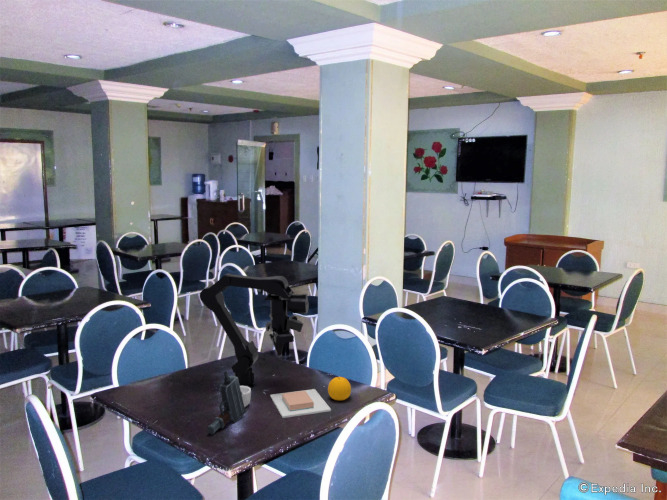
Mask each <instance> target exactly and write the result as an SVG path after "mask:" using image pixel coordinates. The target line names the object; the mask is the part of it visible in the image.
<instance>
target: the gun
mask: <svg viewBox="0 0 667 500" xmlns="http://www.w3.org/2000/svg"><path fill="white" fill-rule="evenodd" d="M223 376H224V378H223V382H222V383H221V384H220V386H219V394H220V398H221V402H220V403H219V407H218V408H219V412H220V414H218V416H217V417H215V418H214V421H213V422H212V423H211V424H209V425H208V426H207V430H208V431H207V432H208V433H209V435H213V436H214V435H215V434H216V432H217V431H218V430H219V429H224V428H225V426H226V424H228V423H229V422H231V423H235V424H236V423H238V421H239V420H240V419H241V418H242V417H243V416H244V415H245V414H246V413H247V412H248V410H247V409H246V407H244V403H243V399H242V392H241V390H240V385H239V381H238V377H235V376H234V375H230V376H229V371H228V370H225V371H223Z"/></svg>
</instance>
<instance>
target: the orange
mask: <svg viewBox="0 0 667 500" xmlns="http://www.w3.org/2000/svg"><path fill="white" fill-rule="evenodd" d="M327 393H328V395H329V397H330V398H331V399H333V400H334V401H345V400H348V398H349V397H350V396H351V393H352V385H351V383H350V382H349V380H348V379H347V378H346V377H344V376H336V377H333V378H332V379H331V380H330V381H329V384H328V386H327Z"/></svg>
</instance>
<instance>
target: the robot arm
mask: <svg viewBox="0 0 667 500" xmlns="http://www.w3.org/2000/svg"><path fill="white" fill-rule="evenodd" d="M229 287H238V288H245V289H252V290H253V289H255V290H260V291H263V292H265V293H268V295H267V296H266V297H264V300H265V301H270V313H269V318H270V321H268V322H267V323H266V324H265V331H266V332H269V330H270V331H271V333H270V334H269V335H268V336H269V338H270V340H271V344H272V345H273V347H274V350H275V352H276V355H277V356H282V352H283V349H284V346H285V344H286V343H287V344H288V343H293V342H294V340H295V339H294V338H295V337H294V335H293V334H292V332H290V331H291V330H293V331H296V332H297V333H301V332H302V330H303V328H304V323H303V322H302V321H301V320H299V319H298V317H297V316H296V315H294V314H307V315H308V312H309V307H310V306H309V305H310V304H309V303H310V302H309V299H308V293H301V294H300V293H295V292H294V291H293V289H292V288H291V287H290V285H289V282H288V279H287V278H286V277H285V276H283V275H274V276H266V277H258V276H251V275H249V276H248V275H242V274H235V273H234V274H233V273H230V272H229V273H225V274H224V275H222V276H221V278H219V279H218V280H217V281H216V282H214V283H213V284H211V285H209V286H207V287H205V288H203V289H202V290H201V291H200V293H199V299H200V301H201V302H202V304H203V305H204V306H205V307H206V308H207V309H208V310H209V311H211V312H212V313H213V314H214V315H215V317H216V319H217V321H218V322H219V324H220V326H221V327H222V329H223V330H224V332H225V334H226V336H227V337H228V339H229V340H230V343H231V344H232V345H233V348H234V354H235V357H236V362H235V363H234V364H233V365H232V366H231V370H232V372H233V376H235V377H238V381H239V385H240V386H247V387H249V388H250V389H251V388H255V387H254V386H255V385H254V384H255V373H254V371H253V368H252V366H253V365H254V364H255V363H256V361H258V358H259V352H258V351H259V348H257V346H256V344H255V342H254V341H253V340H250V341H249V340H247V339H246V338H245V336H244V335H243V333H242V332H241V330H240V328H239V327H238V325H237V323H236V322H235V320H234V318H233V317H232V315H231V313H230V312H229V310H228V308H227V307H226V303H225V302H226V301H225V297H224V294H223V292H224V291H225V290H226V289H227V288H229ZM288 312H290V313H291V314H293V315H291V316H289V315H288Z"/></svg>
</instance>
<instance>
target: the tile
mask: <svg viewBox="0 0 667 500" xmlns="http://www.w3.org/2000/svg"><path fill="white" fill-rule="evenodd" d="M298 391H299V392H296V391H290V392H291V393H288V392H283V393H284V394H282V400H283V401H284V403H285V405H286V406H287V408H288V409H289V411H296V410H303V409H310V408H314V402H313V401H312V399H311V398H310V397H309V395H308V394H307V393H306V391H303V390H298Z"/></svg>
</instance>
